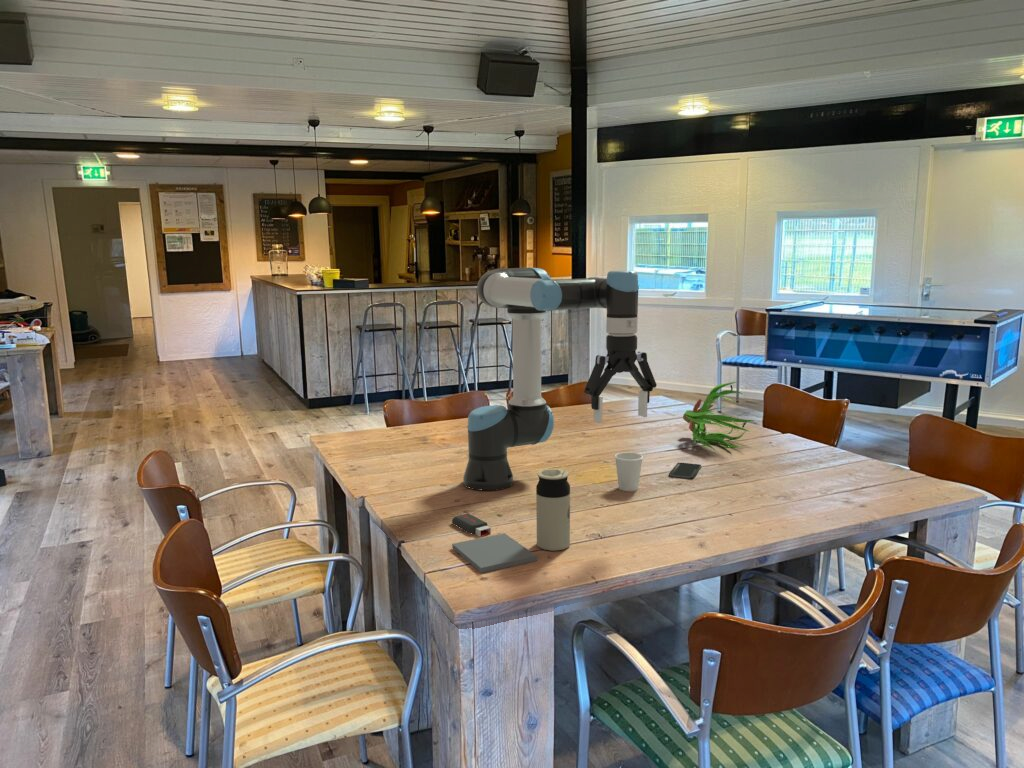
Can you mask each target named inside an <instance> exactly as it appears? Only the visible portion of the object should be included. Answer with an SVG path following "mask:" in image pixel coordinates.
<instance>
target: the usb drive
mask: <svg viewBox="0 0 1024 768" xmlns="http://www.w3.org/2000/svg"><path fill="white" fill-rule="evenodd" d="M452 523H453V524H455V525H457V526H458V527H457V526H456V527H457V528H459V527H460V528H462V529H463V530H462V529H461V530H462V531H464V530H465V531H464V532H466V531H467V532H466V533H468V534H469V533H472V534H471V535H474V534H475V535H476V534H477V535H476V536H478V535H479V536H481V537H483V536H482V535H484V536H487V535H486V534H488V535H491V534H492V528H491V527H490V526H488V522H487V521H484V520H482V519H480V518H478V517H477V516H474V515H473V514H470V513H465V514H464V513H463V514H460V515H456V516H453V518H452V520H451V524H452ZM453 524H452V525H453ZM455 525H454V526H455ZM460 528H459V529H460ZM490 533H491V534H490ZM479 536H478V537H479Z"/></svg>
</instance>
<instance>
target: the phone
mask: <svg viewBox="0 0 1024 768" xmlns="http://www.w3.org/2000/svg"><path fill="white" fill-rule="evenodd" d="M699 470H702V464H699V463H698V464H697V463H689V462H677V463H676V464H675V465H674V466H673V468H672V469H671V470H670V471H669V473H668V477H670V478H676V479H682V480H683V479H685V480H695V478H696V476H697V475H698V474H699V472H700V471H699Z"/></svg>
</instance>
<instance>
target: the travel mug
mask: <svg viewBox="0 0 1024 768" xmlns="http://www.w3.org/2000/svg"><path fill="white" fill-rule="evenodd" d="M536 474H537V476H538V480H539V481H537V484H536V488H535V490H536V495H535V496H536V498H535V499H536V501H535V502H536V504H535V506H536V545H537V547H538V548H540V549H542V550H544V551H550V552H557V551H562V550H565V549H568V548H569V547H570V546H571V486H570V484H569V482H568V477H569V475H570V473H569V472H568V471H567V470H565V469H559V468H545V469H541V470H539V471H537V473H536Z"/></svg>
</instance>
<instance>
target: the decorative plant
mask: <svg viewBox="0 0 1024 768" xmlns="http://www.w3.org/2000/svg"><path fill="white" fill-rule="evenodd" d="M736 383H738V384H740V382H738V381H732V382H728V383H721V384H717V385H715V386H714V387H713V388H711V389H710V391H709V392H708V395H707V396H706V398H705V400H704V401H703V403H702V399H701V398H699V399H698V400H697V401H696V402H695V404H694V406H693V408H692V409H693V410H685V412H684V413H683V414H682V415H683V416H682V419H683V420H684V421H685V422H686V423H688V424H689V425H688V429H689V431H690V432H691V433H692V435H691V436H692V440H693V442H694V444H697V443H696V442H697V441H699V443H700V445H703V446H705V447H708V448H710V449H712V450H714V451H716V452H717V450H716V449H715V448H714V447H713V446H712V445H710V443H716V444H721V447H723V449H736V448H740V447H742V446H743V444H742V445H739V446H737V445H734V444H731V443H728V442H729V441H736V440H739V439H740V438H741V437H743V435H744V434H745V433H746V432H748V433H751V431H750V430H748V429H746V428H745V426H746V424H747V423H749V422H755V419H754V420H753V419H743V418H736V417H733V416H730V415H723V414H713V413H714V410H717V409H720V407H715V408H712V407H713V406H714V404H713V403H714V402H715V401H716V400H718V399H719V398H723V399H726V400H729V401H731V402H732V403H733V404H734V401H733V399H731V398H730V397H726V396H727V395H729V394H741V395H743V393H742V392H741V391H737V390H733V389H734V388H733V386H732V384H736ZM727 386H729V387H730V390H727V389H726V390H721V389H722V388H724V387H727ZM720 390H721V391H720ZM718 391H719V392H718ZM701 404H702V406H701ZM700 406H701V407H700ZM724 408H725V405H723V406H722V409H724ZM743 415H745V412H743V413H742V414H739V415H737V417H741V416H743ZM732 423H734V424H732ZM738 423H741V424H740V426H739V424H738ZM706 425H716V426H719V427H721V428H723V429H726V427H728V428H730V429H731V430H730V432H728V433H726V432H725V433H724V432H708V431H707V427H706ZM741 425H742V427H741ZM734 430H735V431H737V432H739V430H741V431H744V432H743V433H742V434H740V435H739V436H730V434H731V433H733V431H734ZM725 439H726V440H725ZM696 440H697V441H696ZM727 446H729V447H727ZM698 447H700V448H701V449H703V447H701V446H699V445H698Z"/></svg>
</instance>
